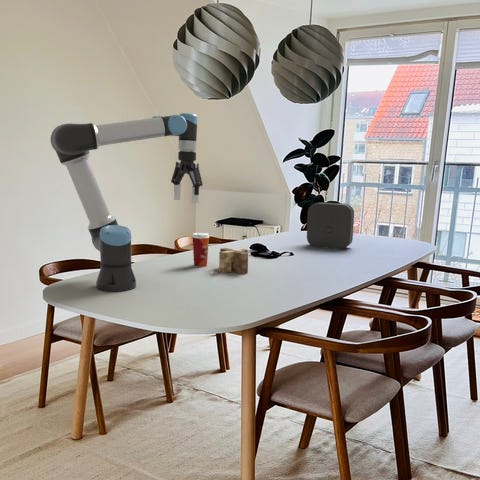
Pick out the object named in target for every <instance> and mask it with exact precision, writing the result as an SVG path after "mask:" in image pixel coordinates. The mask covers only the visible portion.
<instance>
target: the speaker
mask: <svg viewBox="0 0 480 480" xmlns="http://www.w3.org/2000/svg"><path fill="white" fill-rule="evenodd" d="M306 219H307V220H306V221H307V222H306V223H307V224H306V240H307V243H308V244H309V245H310V246H312V247H314V246H316V247H315V248H322V247H328V248H327V249H334V248H340V249H339V250H343V249H346V248H348V247H349V246H350V245H352V242H353V239H354V238H353V237H354V225H355V223H354V220H355V211H354V208H353V206H351V205H350V204H348V203H340V202H339V203H338V202H315V203H312V204H311V205H309V207H308V210H307V218H306Z"/></svg>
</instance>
